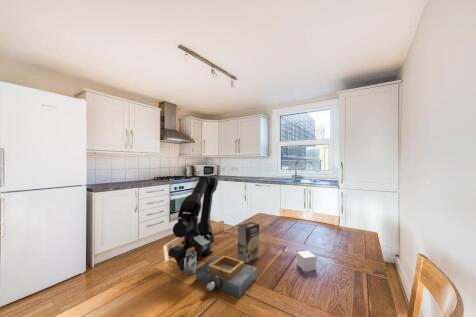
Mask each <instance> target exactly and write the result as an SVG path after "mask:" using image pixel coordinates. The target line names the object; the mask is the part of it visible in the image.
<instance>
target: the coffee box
mask: <svg viewBox="0 0 476 317" xmlns="http://www.w3.org/2000/svg"><path fill="white" fill-rule="evenodd" d="M236 255H237V257H236V259H237V260H240V261H244V264H246V263H247V264H248V263H249V262H252V261H254V260H256V259H257V258H260V224H259V223H256V222H251V221H250V222H249V221H248V222H246V223H245V222H244V223H242V224H237V254H236Z"/></svg>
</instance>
